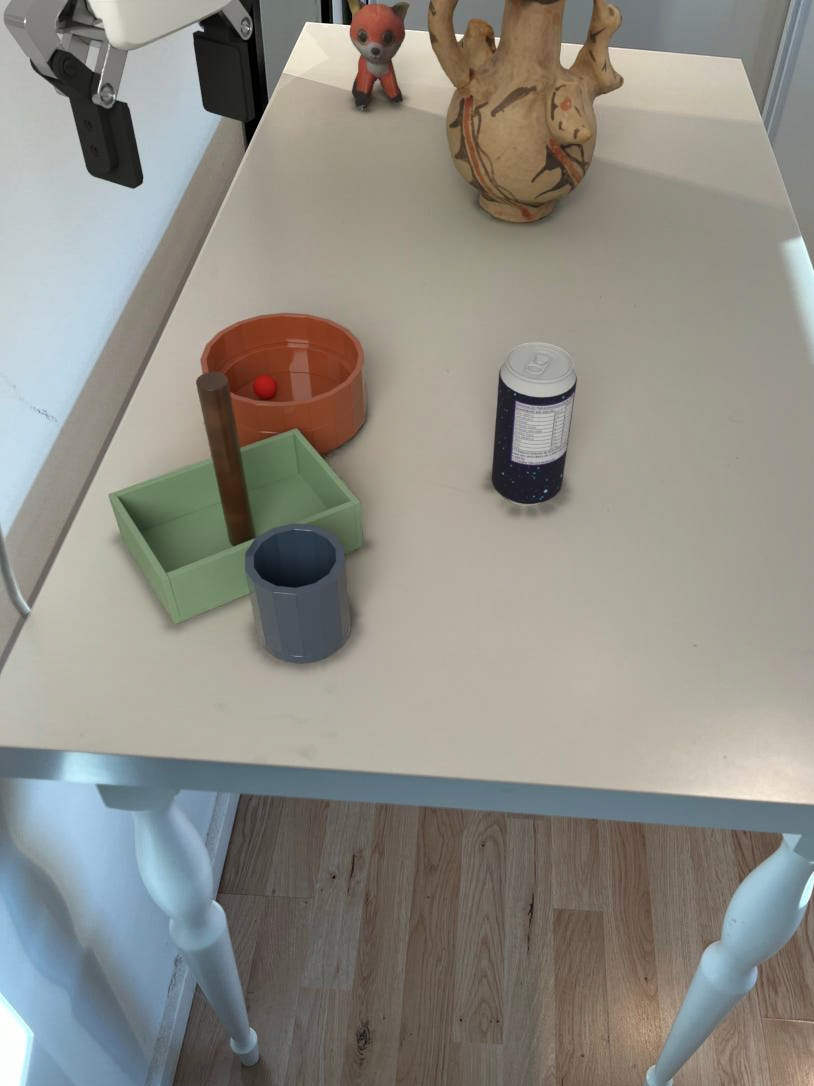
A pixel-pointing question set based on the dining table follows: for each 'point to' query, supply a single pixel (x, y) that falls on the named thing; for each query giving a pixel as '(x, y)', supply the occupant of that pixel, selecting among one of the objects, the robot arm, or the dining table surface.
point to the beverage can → (533, 422)
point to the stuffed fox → (376, 47)
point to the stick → (226, 455)
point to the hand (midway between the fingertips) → (176, 146)
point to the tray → (199, 526)
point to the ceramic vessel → (523, 102)
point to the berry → (265, 387)
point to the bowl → (292, 377)
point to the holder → (299, 592)
